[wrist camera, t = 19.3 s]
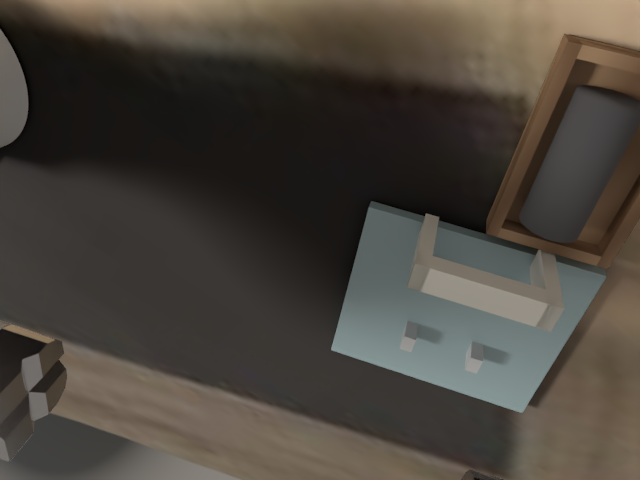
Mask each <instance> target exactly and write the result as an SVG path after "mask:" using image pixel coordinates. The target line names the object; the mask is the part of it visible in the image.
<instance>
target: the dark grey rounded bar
mask: <svg viewBox="0 0 640 480" xmlns="http://www.w3.org/2000/svg"><path fill="white" fill-rule="evenodd" d="M639 124H640V101H639V100H637V99H635V98H633V97H631V96H628V95H626V94H623V93H620V92H617V91H614V90H611V89H607V88H603V87H598V86H590V85H581V86H578V87H577V88H576V90H575V92H574V94H573V96H572V99H571V101H570V103H569V105H568V108H567V110H566V112H565V114H564V117H563V119H562V121H561V123H560V125H559V128H558V130H557V132H556V134H555V137H554V139H553V141H552V143H551V145H550V148H549V150H548V152H547V154H546V157H545V159H544V161H543V163H542V166H541V168H540V170H539V172H538V174H537V177H536V179H535V181H534V183H533V186H532V188H531V190H530V192H529V194H528V197H527V199H526V201H525V203H524V206H523V208H522V210H521V212H520V215H519V219H520V221H521V223H522V224H523V225H524V226H525V227H526V228H527V229H528V230H530V231H531V232H533V233H534V234H536V235H538V236H540V237H542V238H545V239H548V240H551V241H555V242H561V243H570V242H574V241H576V240H577V239H578V237H579V235H580V233H581V232H582V230H583V228H584V226H585V224H586V222H587V221H588V219H589V217H590V215H591V213H592V211H593V209H594V208H595V206H596V204H597V202H598V200H599V198H600V196H601V195H602V193H603V191H604V189H605V187H606V185H607V184H608V182H609V180H610V178H611V176H612V174H613V172H614V171H615V169H616V167H617V165H618V163H619V161H620V159H621V158H622V156H623V154H624V152H625V150H626V148H627V146H628V145H629V143H630V141H631V139H632V137H633V135H634V134H635V132H636V130H637V128H638V126H639Z"/></svg>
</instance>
